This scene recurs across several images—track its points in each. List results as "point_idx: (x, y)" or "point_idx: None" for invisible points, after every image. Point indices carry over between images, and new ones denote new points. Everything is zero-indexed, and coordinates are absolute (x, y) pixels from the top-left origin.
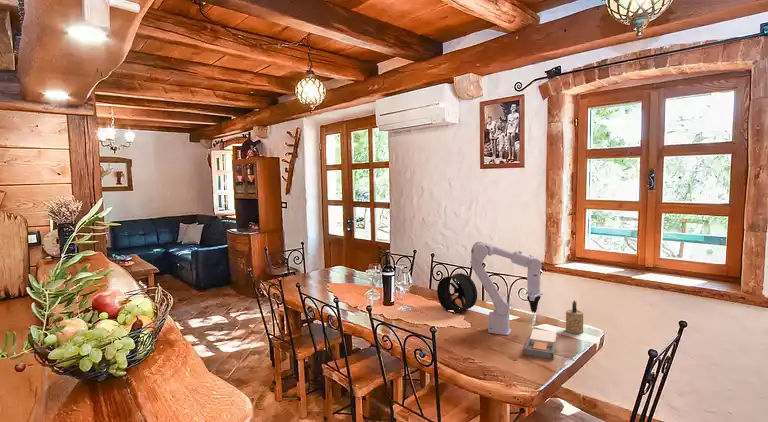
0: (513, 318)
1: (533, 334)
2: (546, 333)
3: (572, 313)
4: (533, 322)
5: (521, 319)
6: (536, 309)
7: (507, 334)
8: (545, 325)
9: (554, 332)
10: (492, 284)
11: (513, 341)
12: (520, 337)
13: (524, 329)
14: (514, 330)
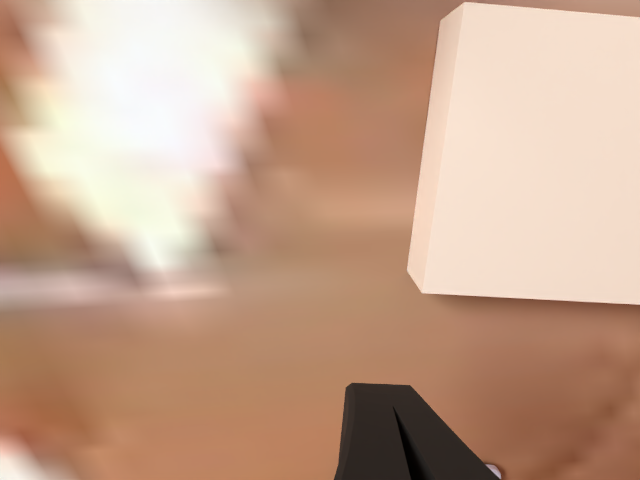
0: (23, 473)
1: (594, 279)
2: (539, 135)
3: None
4: (47, 288)
5: (13, 405)
6: (442, 420)
7: (500, 477)
8: (85, 155)
9: (485, 31)
10: None
11: (618, 413)
12: (515, 370)
13: (297, 355)
14: None
